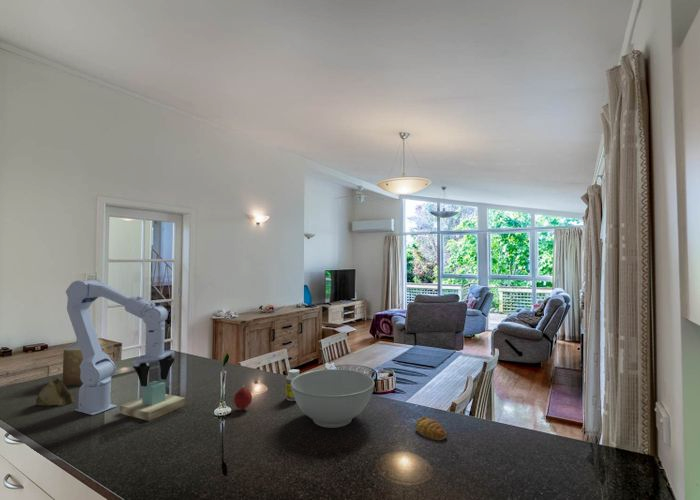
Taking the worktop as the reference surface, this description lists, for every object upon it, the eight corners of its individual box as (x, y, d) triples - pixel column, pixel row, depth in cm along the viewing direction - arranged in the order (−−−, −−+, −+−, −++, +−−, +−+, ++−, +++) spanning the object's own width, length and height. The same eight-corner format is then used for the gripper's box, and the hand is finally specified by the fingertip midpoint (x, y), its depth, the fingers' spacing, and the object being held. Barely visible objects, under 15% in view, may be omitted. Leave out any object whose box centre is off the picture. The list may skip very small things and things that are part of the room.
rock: (24, 400, 126) (37, 401, 122) (41, 376, 131) (55, 376, 127) (54, 411, 133) (68, 413, 128) (70, 387, 138) (84, 388, 134)
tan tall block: (88, 385, 149) (89, 337, 150) (62, 384, 149) (63, 337, 150) (105, 377, 160) (106, 333, 161) (81, 376, 160) (83, 332, 161)
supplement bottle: (283, 400, 133) (283, 372, 133) (289, 395, 139) (289, 368, 139) (298, 402, 132) (298, 373, 132) (303, 396, 137) (303, 369, 138)
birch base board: (119, 413, 121) (120, 405, 122) (157, 399, 134) (157, 392, 134) (149, 420, 116) (149, 412, 116) (185, 405, 129) (185, 397, 129)
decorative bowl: (391, 418, 118) (391, 380, 119) (331, 449, 99) (331, 403, 99) (333, 397, 136) (333, 364, 137) (272, 420, 117) (273, 381, 117)
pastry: (452, 437, 106) (452, 424, 106) (436, 444, 102) (436, 430, 102) (427, 426, 114) (427, 413, 114) (412, 431, 110) (412, 418, 110)
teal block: (142, 403, 124) (142, 385, 124) (155, 398, 128) (155, 380, 129) (152, 405, 122) (152, 387, 122) (165, 400, 126) (165, 382, 126)
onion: (246, 414, 121) (246, 389, 121) (230, 412, 122) (231, 388, 123) (254, 407, 127) (254, 384, 127) (239, 406, 128) (239, 382, 128)
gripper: (143, 347, 118) (142, 390, 117) (181, 339, 131) (180, 377, 130) (128, 345, 120) (127, 387, 120) (166, 337, 134) (165, 375, 133)
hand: (154, 382), depth 125 cm, fingers open, 7 cm apart
